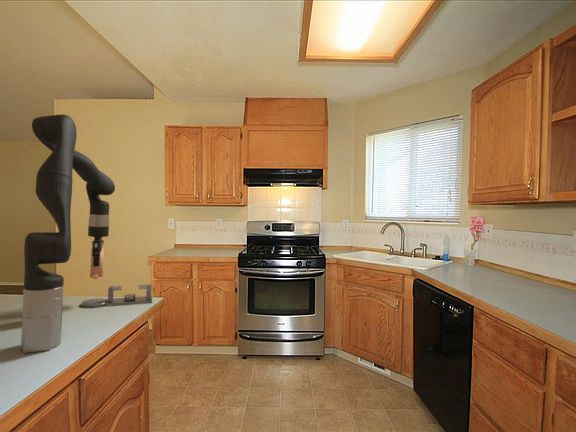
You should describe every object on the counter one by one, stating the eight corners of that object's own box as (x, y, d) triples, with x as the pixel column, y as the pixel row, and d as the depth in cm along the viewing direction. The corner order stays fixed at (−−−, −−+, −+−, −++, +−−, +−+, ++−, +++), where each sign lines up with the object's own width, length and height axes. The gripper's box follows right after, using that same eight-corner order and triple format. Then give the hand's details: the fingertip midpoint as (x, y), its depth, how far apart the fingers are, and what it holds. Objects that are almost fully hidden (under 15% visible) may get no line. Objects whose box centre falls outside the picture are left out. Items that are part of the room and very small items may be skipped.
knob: (88, 279, 126) (89, 249, 126) (91, 274, 135) (92, 246, 135) (101, 278, 128) (102, 248, 128) (103, 274, 137) (105, 246, 137)
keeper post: (152, 302, 137) (152, 287, 137) (105, 306, 130) (106, 289, 130) (151, 298, 145) (152, 283, 145) (107, 301, 137) (108, 285, 137)
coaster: (108, 306, 129) (108, 303, 129) (79, 308, 125) (79, 305, 125) (110, 300, 138) (110, 297, 138) (83, 302, 134) (83, 299, 134)
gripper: (90, 224, 136) (89, 262, 136) (85, 225, 123) (83, 268, 123) (110, 224, 140) (108, 262, 140) (107, 226, 127) (105, 268, 127)
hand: (97, 265), depth 131 cm, fingers closed on knob, 4 cm apart
